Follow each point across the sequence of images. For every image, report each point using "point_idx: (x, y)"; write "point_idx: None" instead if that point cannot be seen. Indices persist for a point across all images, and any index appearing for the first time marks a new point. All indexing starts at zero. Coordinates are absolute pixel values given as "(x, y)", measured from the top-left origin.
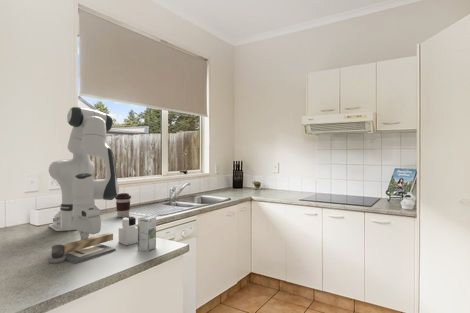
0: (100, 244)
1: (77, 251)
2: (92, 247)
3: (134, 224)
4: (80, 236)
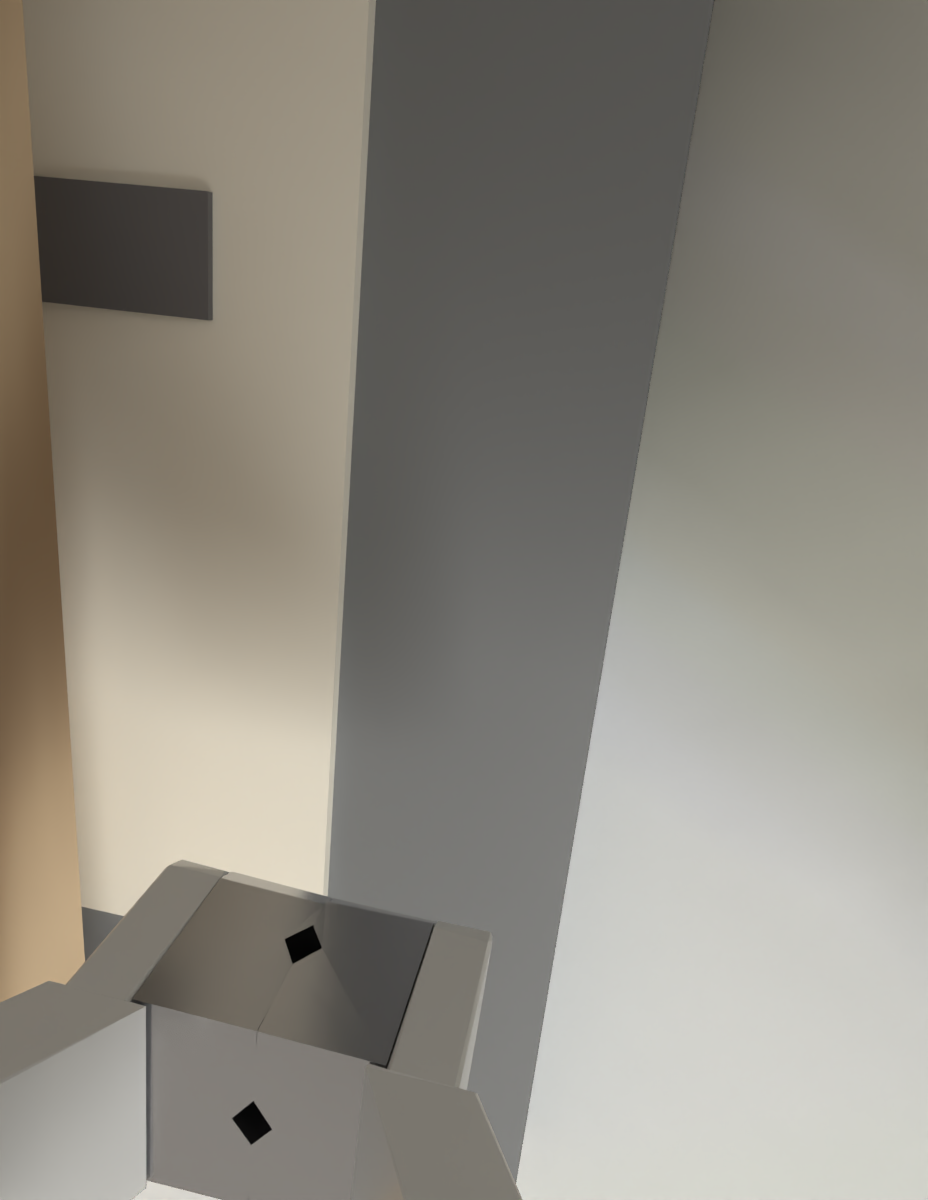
0: None
1: None
2: None
3: None
4: (458, 1092)
